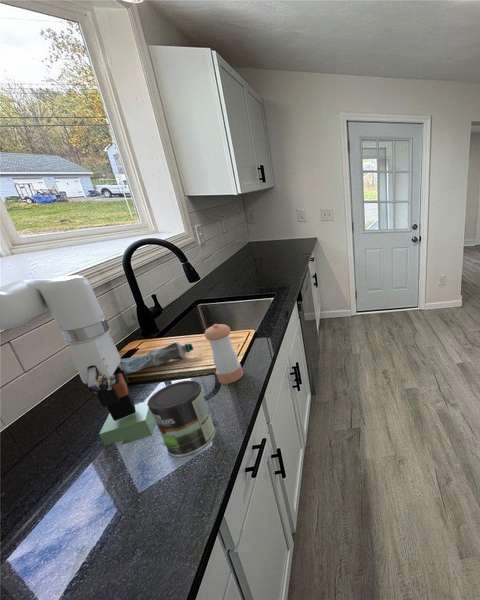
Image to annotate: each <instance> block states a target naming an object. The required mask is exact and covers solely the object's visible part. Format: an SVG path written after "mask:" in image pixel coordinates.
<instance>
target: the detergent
mask: <svg viewBox="0 0 480 600" xmlns="http://www.w3.org/2000/svg"><path fill="white" fill-rule="evenodd" d="M191 351H194V347H193V344H192V343H185V344H184V345H182V344H181V343H180V342H178V341H177V342H172V343H170V344H168V345H167V346H164V347H163V348H159V349H153V350H150V351H149V352H147V354H145V355H140V356H133V357H132V356H131V357H126V358H120V364H121V365H122V367H123V370H124V372H125V374H126V376H127V375H130V374H133V373H136V372H139V371H141V370H144V369H146V368H149V367H153V366H159V365H163V364H165V363H167V362H168V361H170V360H171V361H172V360H173V361H175V360H176V361H178V360H177V359H182V360H183V359H184V358H185V355H186V353H190V352H191ZM103 376H104V377H105V375H103Z"/></svg>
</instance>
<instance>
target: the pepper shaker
mask: <svg viewBox="0 0 480 600" xmlns="http://www.w3.org/2000/svg"><path fill="white" fill-rule="evenodd" d="M230 334H231V327H230V326H229V325H227V324H224V323H223V324H221V323H220V324H219V323H214V324H213V325H212V326H209V327H207V329H206V330H205V331H204V338H205V339H206V340H208V341H209V344H210V347H211V351H212V358H213V359H212V361H213V364H214V366H215V374H216V378H217V380H218V383H219V384H221V385H229V384H232V383H235V382H238V381H239V380H240V379H242V378H243V376H244V371H243V367H242V365H241V363H240V362H239V358H238V354H237V353H236V351H235V349H234V347H233V345H232V344H233V343H232V341H231V337H230Z"/></svg>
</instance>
